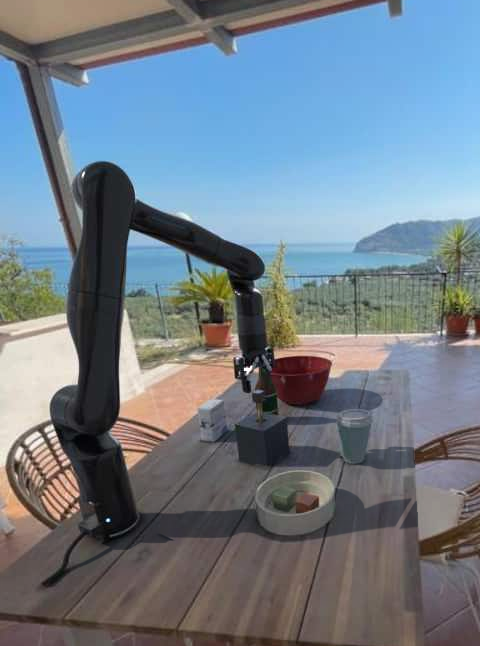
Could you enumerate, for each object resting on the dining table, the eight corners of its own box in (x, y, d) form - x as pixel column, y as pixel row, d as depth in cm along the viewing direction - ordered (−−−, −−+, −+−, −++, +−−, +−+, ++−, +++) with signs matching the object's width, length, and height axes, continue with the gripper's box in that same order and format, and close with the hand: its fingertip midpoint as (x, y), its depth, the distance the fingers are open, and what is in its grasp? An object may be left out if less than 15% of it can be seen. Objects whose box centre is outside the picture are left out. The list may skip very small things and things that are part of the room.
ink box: (215, 429, 135) (210, 398, 131) (228, 431, 134) (224, 399, 130) (201, 440, 127) (195, 407, 123) (215, 442, 126) (210, 409, 122)
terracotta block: (310, 520, 89) (309, 505, 87) (295, 515, 90) (294, 501, 89) (319, 510, 92) (319, 496, 91) (305, 506, 94) (304, 492, 92)
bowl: (308, 548, 81) (306, 525, 79) (240, 523, 89) (237, 501, 87) (348, 501, 97) (347, 480, 95) (287, 483, 104) (286, 464, 102)
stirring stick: (265, 459, 116) (258, 393, 108) (258, 457, 117) (251, 392, 109) (270, 455, 118) (264, 390, 111) (264, 453, 119) (257, 389, 112)
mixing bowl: (253, 410, 151) (249, 372, 146) (278, 386, 178) (275, 353, 172) (324, 414, 148) (323, 375, 142) (338, 389, 174) (338, 356, 168)
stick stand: (267, 469, 111) (264, 431, 107) (239, 460, 115) (234, 424, 111) (289, 452, 120) (286, 417, 116) (262, 445, 124) (258, 411, 120)
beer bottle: (253, 423, 140) (246, 358, 131) (264, 415, 147) (258, 353, 138) (272, 426, 138) (266, 360, 129) (282, 417, 145) (278, 355, 136)
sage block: (287, 512, 91) (286, 498, 90) (273, 508, 93) (272, 494, 91) (297, 503, 95) (296, 489, 93) (283, 499, 96) (282, 485, 95)
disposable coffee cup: (329, 458, 117) (328, 412, 111) (355, 446, 124) (354, 402, 118) (354, 471, 110) (354, 423, 104) (379, 458, 117) (380, 412, 111)
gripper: (258, 325, 111) (263, 379, 117) (221, 334, 99) (229, 393, 105) (279, 327, 108) (283, 382, 114) (244, 337, 96) (251, 398, 102)
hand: (257, 387), depth 110 cm, fingers open, 8 cm apart
